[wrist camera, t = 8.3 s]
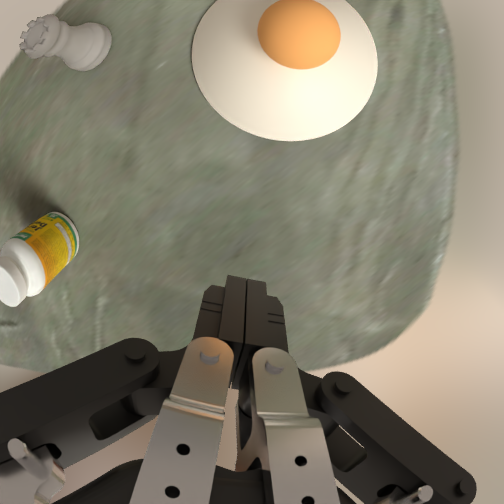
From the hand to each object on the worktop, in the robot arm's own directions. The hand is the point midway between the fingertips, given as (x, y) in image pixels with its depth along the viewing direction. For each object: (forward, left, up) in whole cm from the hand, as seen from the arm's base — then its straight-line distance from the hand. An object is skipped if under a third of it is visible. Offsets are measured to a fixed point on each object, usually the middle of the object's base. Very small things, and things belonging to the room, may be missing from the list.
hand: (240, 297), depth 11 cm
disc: (0, +12, -13) cm, 18 cm away
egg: (0, +13, -10) cm, 17 cm away
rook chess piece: (-16, +11, -13) cm, 23 cm away
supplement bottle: (-18, -7, -13) cm, 23 cm away
